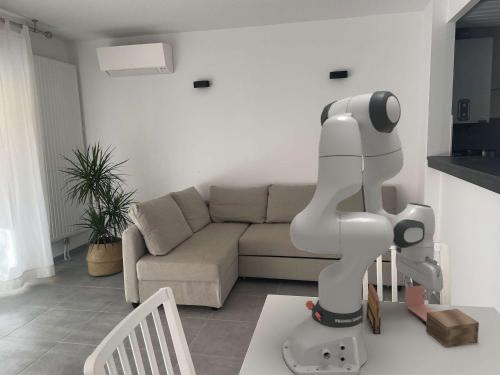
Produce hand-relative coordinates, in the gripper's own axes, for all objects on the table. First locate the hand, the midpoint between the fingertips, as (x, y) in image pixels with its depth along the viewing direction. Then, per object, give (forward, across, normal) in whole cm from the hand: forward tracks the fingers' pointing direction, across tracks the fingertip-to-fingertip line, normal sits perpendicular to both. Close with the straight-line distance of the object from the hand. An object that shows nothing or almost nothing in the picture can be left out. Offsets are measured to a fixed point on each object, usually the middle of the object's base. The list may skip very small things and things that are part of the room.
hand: (417, 293), depth 114 cm
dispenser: (+6, -16, 0) cm, 17 cm away
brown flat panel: (+7, -5, +18) cm, 20 cm away
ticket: (+5, -5, 0) cm, 7 cm away
